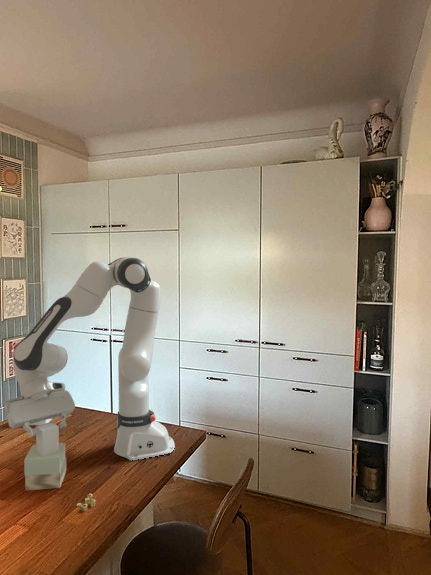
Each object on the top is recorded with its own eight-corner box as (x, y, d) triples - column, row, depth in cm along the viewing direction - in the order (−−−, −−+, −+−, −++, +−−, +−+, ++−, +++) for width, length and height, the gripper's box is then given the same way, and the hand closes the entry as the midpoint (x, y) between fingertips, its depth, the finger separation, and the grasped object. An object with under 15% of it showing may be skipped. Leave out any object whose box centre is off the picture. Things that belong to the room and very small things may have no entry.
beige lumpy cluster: (91, 499, 117) (91, 492, 117) (99, 507, 113) (99, 500, 113) (74, 506, 114) (74, 499, 113) (82, 514, 110) (82, 507, 110)
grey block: (36, 450, 125) (35, 426, 124) (52, 445, 128) (51, 421, 128) (42, 456, 121) (42, 431, 121) (58, 450, 125) (58, 426, 124)
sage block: (65, 457, 131) (65, 442, 131) (59, 473, 121) (59, 457, 121) (32, 459, 129) (32, 444, 129) (24, 476, 119) (24, 459, 119)
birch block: (66, 471, 131) (66, 457, 131) (60, 488, 122) (60, 472, 121) (34, 473, 130) (34, 459, 129) (25, 491, 120) (25, 475, 120)
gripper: (4, 395, 121) (16, 436, 115) (69, 382, 136) (82, 418, 130) (0, 406, 125) (11, 446, 119) (63, 391, 139) (76, 427, 133)
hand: (49, 431), depth 124 cm, fingers open, 8 cm apart
